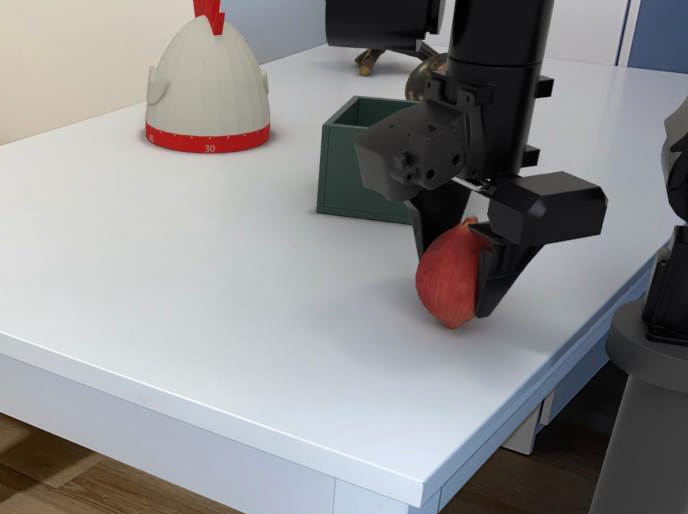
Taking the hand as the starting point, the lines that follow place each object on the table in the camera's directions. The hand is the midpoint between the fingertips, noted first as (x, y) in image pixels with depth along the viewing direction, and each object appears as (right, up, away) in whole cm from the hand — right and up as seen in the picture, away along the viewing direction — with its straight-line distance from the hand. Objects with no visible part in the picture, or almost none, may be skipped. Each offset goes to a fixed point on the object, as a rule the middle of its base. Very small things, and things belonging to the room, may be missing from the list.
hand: (454, 300), depth 70 cm
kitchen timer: (-17, +29, +41) cm, 53 cm away
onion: (0, -2, +1) cm, 2 cm away
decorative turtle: (+10, +31, +44) cm, 55 cm away
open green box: (0, +15, +23) cm, 28 cm away
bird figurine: (+6, +50, +68) cm, 85 cm away
